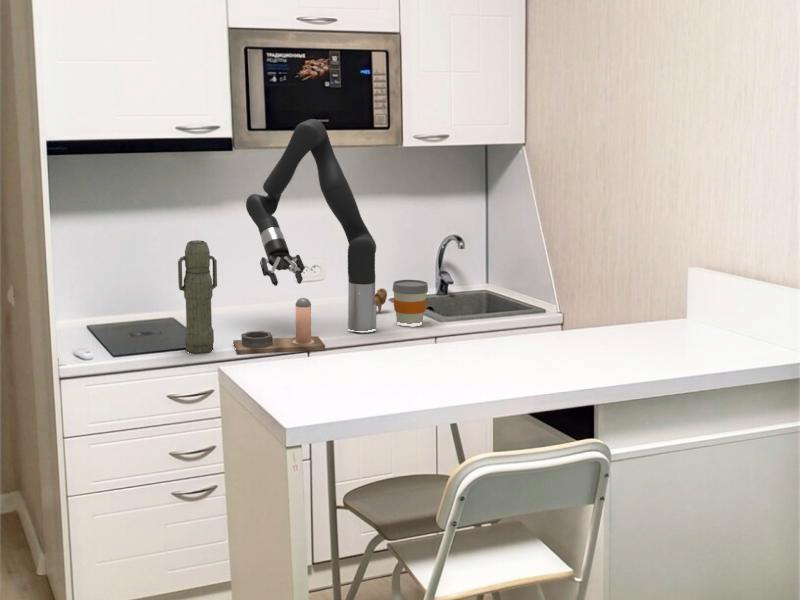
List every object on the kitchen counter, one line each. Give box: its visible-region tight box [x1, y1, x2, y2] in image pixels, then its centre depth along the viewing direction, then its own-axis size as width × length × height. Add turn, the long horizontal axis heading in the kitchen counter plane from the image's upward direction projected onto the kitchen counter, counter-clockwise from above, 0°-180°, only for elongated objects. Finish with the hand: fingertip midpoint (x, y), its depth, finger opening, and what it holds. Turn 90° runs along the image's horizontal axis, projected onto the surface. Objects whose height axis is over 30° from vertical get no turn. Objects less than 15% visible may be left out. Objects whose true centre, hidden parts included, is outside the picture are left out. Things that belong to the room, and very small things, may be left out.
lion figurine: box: [375, 287, 388, 314], centre depth 370 cm, size 15×5×9 cm, turn 130°
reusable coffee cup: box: [392, 279, 429, 324], centre depth 355 cm, size 13×12×15 cm
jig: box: [232, 330, 326, 355], centre depth 323 cm, size 28×12×4 cm, turn 105°
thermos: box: [177, 239, 218, 355], centre depth 314 cm, size 9×12×35 cm
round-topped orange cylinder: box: [295, 297, 312, 344], centre depth 323 cm, size 5×5×14 cm
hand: (288, 283), depth 331 cm, fingers open, 8 cm apart
